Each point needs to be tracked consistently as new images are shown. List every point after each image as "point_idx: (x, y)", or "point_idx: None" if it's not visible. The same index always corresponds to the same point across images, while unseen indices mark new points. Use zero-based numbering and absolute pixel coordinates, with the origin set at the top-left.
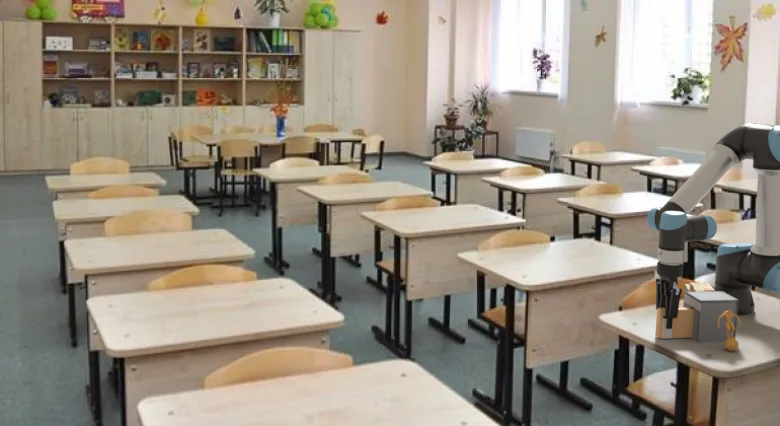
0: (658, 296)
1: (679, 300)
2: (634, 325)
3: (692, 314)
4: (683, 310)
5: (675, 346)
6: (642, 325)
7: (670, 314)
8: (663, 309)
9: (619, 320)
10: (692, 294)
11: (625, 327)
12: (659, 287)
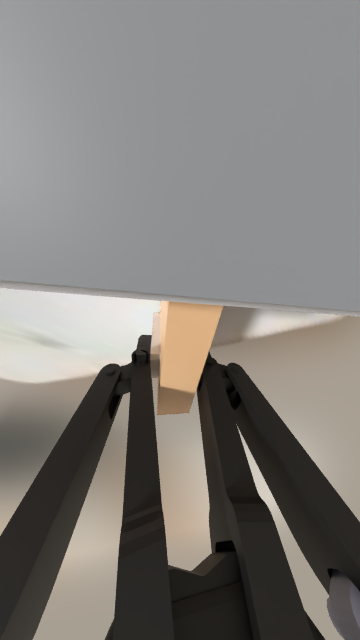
0: (95, 468)
1: (321, 472)
2: (65, 346)
3: None
4: (212, 334)
5: (227, 324)
6: (61, 329)
7: (238, 397)
8: (183, 405)
9: (24, 362)
10: (133, 210)
11: (87, 366)
12: (39, 608)
